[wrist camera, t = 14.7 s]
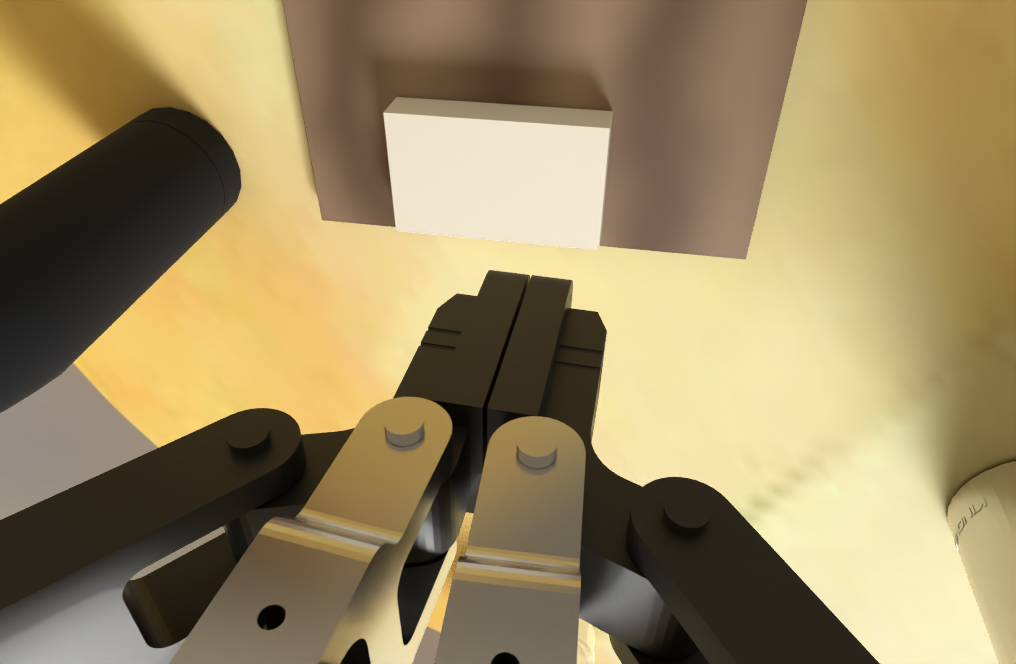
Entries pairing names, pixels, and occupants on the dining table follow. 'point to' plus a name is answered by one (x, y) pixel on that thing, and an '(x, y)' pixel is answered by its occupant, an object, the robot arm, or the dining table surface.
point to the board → (562, 98)
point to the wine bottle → (102, 238)
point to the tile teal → (498, 171)
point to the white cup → (585, 643)
